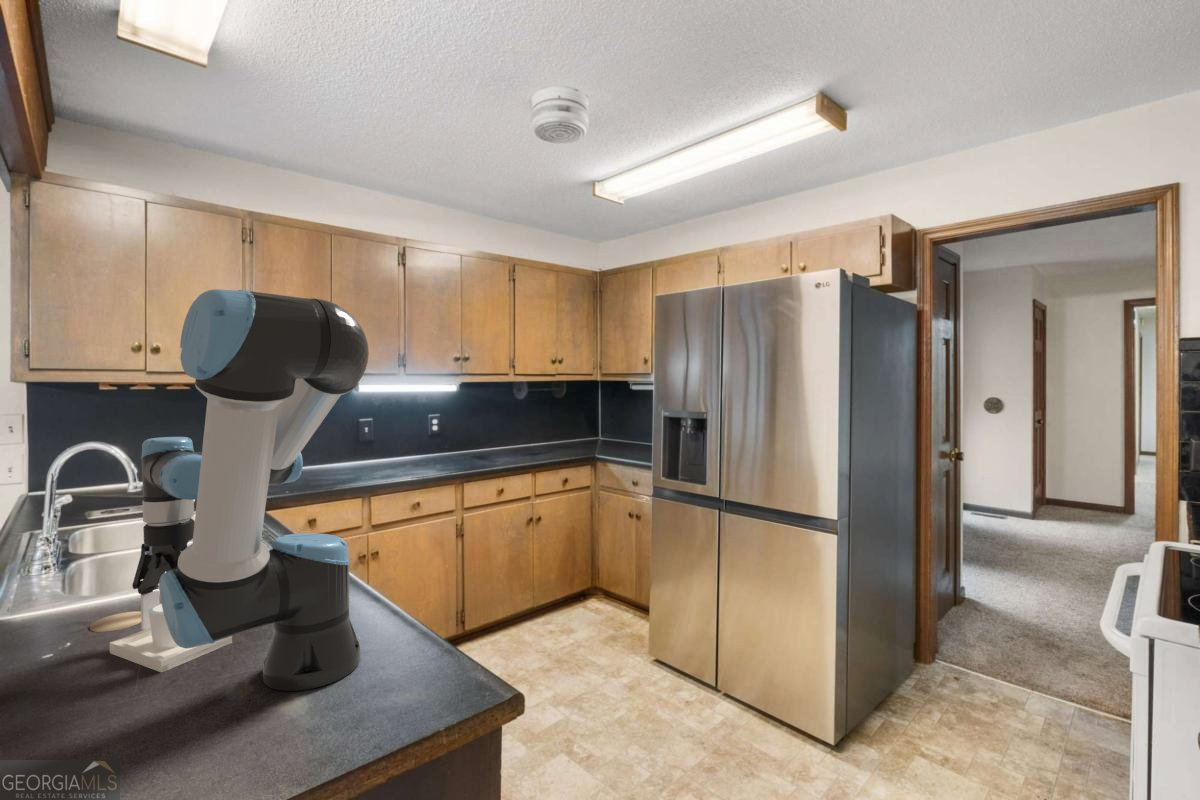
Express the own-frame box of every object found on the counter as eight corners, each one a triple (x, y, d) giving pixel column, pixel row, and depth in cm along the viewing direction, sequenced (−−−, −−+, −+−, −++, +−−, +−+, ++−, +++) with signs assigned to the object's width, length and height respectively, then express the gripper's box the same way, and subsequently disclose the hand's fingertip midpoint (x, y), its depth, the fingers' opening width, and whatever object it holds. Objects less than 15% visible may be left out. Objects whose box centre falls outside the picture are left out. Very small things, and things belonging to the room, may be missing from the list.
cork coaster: (155, 620, 117) (155, 617, 117) (100, 637, 109) (100, 634, 109) (135, 610, 122) (135, 608, 122) (81, 627, 114) (81, 624, 114)
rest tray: (232, 642, 107) (232, 632, 107) (161, 672, 96) (161, 661, 96) (181, 626, 113) (181, 617, 113) (109, 653, 102) (109, 642, 102)
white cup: (188, 630, 109) (188, 595, 109) (200, 641, 105) (199, 604, 105) (144, 643, 104) (143, 606, 104) (154, 655, 100) (153, 616, 100)
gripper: (233, 523, 102) (235, 638, 103) (153, 509, 112) (155, 613, 113) (188, 534, 95) (191, 656, 96) (107, 517, 105) (110, 628, 106)
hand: (172, 633), depth 104 cm, fingers open, 13 cm apart
